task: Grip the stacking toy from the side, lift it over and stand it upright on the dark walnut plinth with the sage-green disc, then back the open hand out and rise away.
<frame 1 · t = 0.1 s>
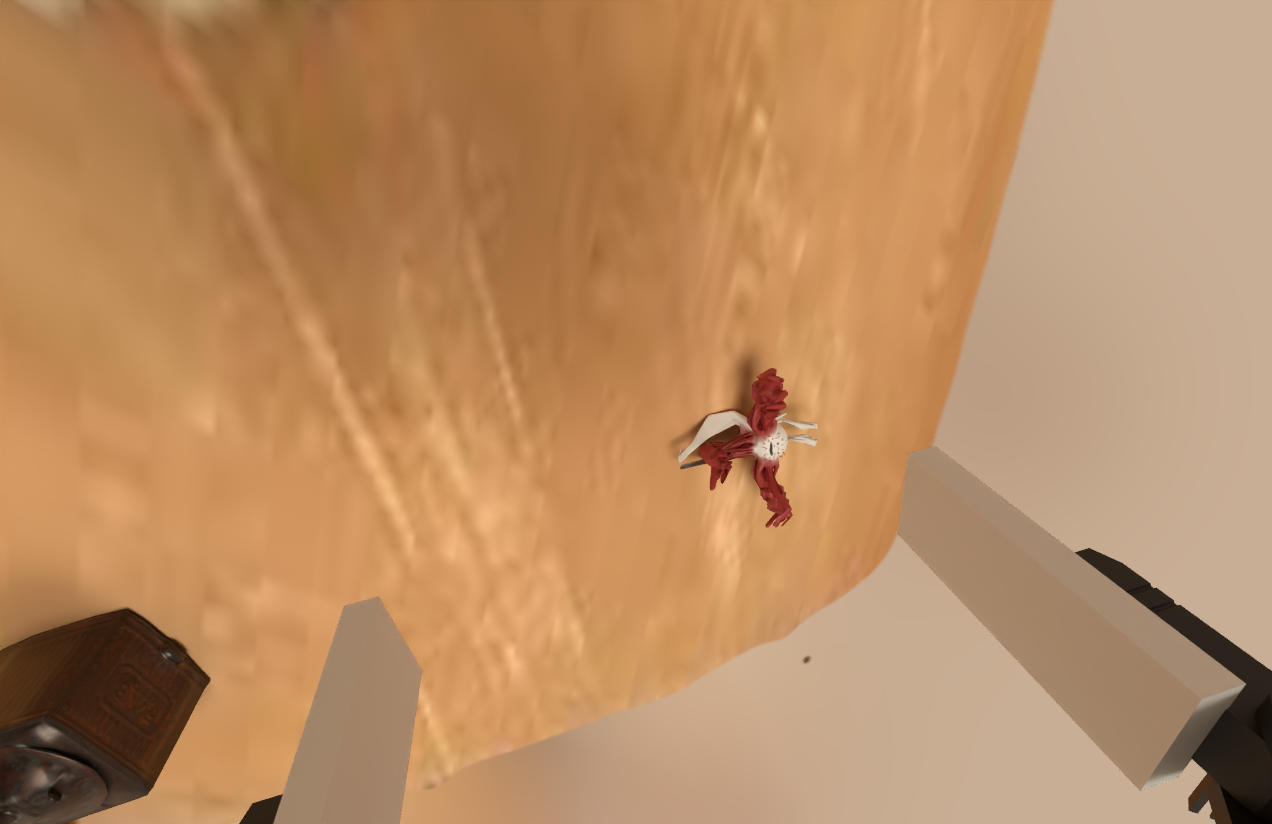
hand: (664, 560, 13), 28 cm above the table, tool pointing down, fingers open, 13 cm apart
pepper mill: (94, 644, 43), on the table
figurine: (733, 426, 47), on the table
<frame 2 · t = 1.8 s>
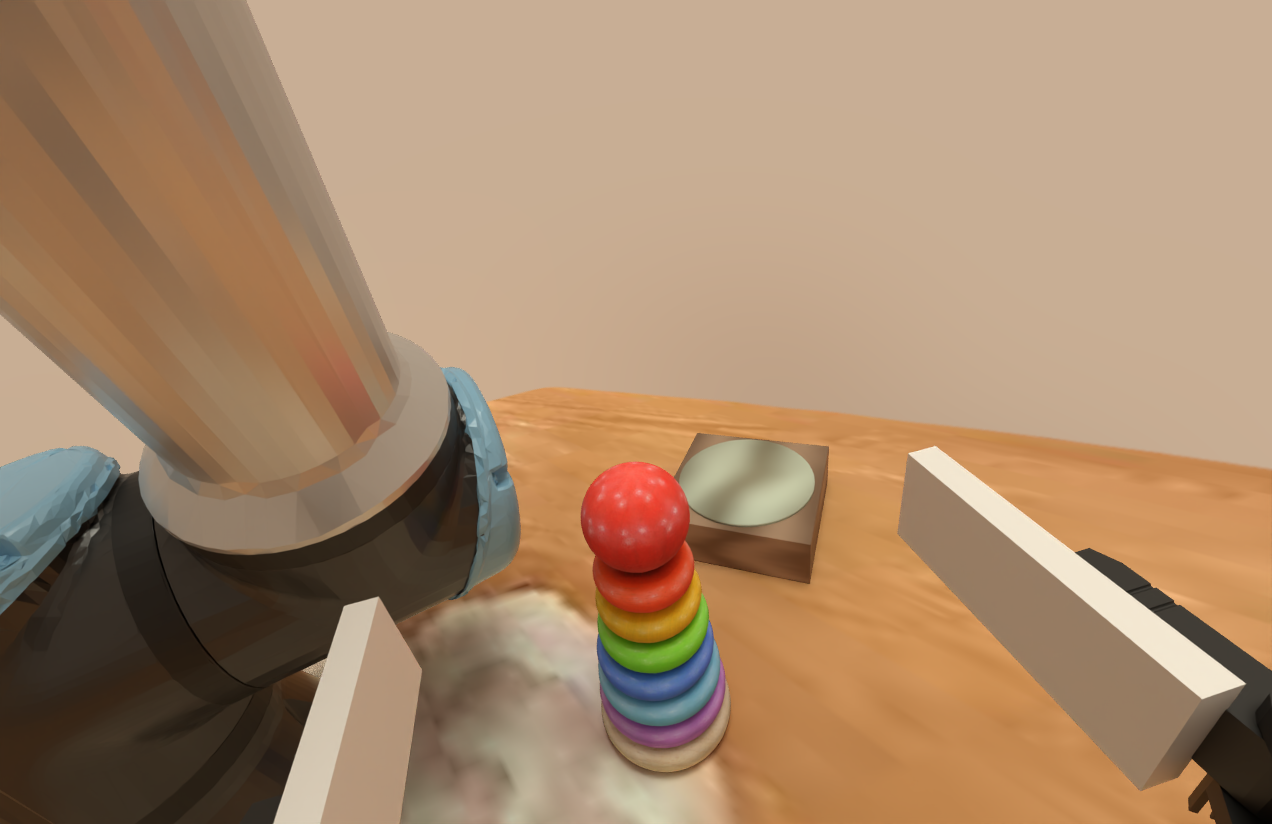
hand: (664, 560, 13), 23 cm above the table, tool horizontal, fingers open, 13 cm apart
walnut plinth: (747, 516, 47), on the table
stacking toy: (667, 710, 34), on the table
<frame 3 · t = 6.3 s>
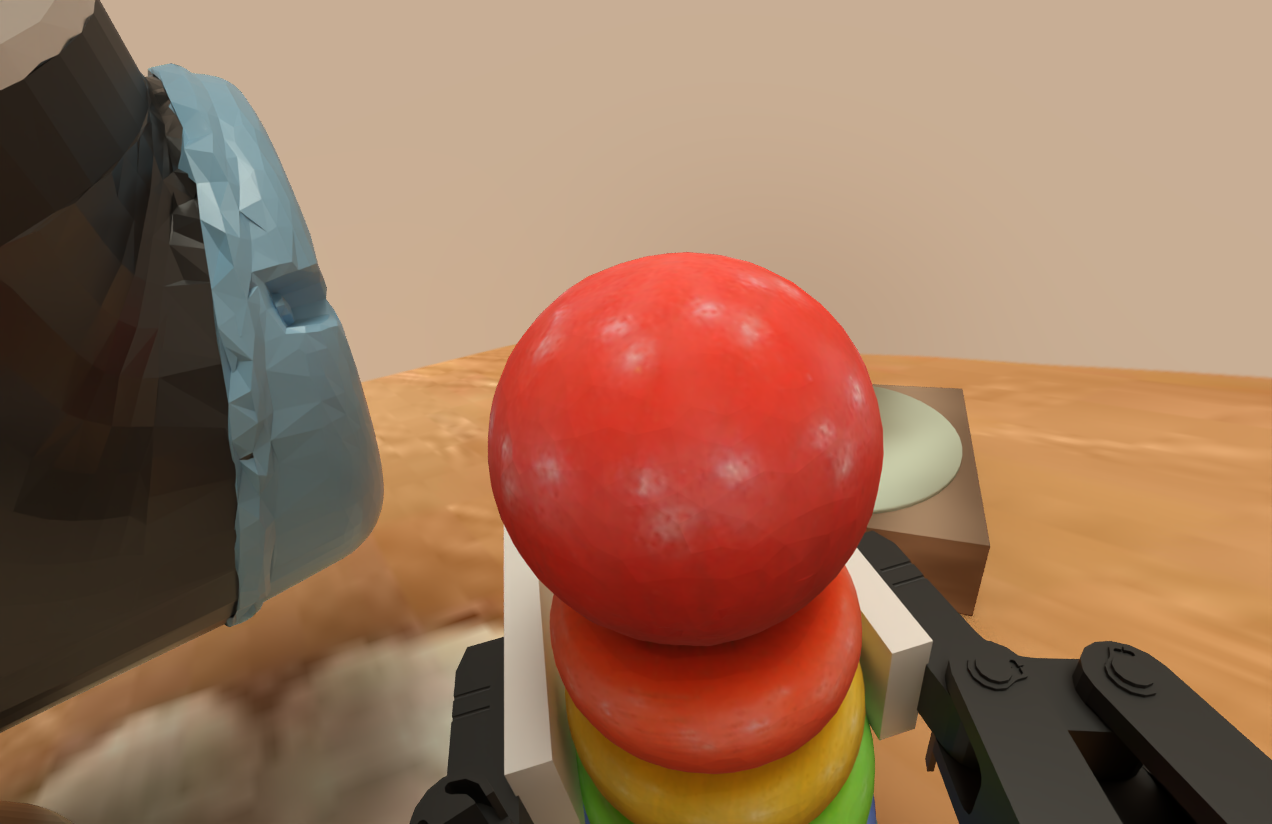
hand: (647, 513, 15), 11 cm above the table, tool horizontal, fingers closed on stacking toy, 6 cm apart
walnut plinth: (832, 500, 29), on the table
when the fingers open (16 cm above the table, at t = 11.1 s): stacking toy drops 1 cm, resting on walnut plinth.
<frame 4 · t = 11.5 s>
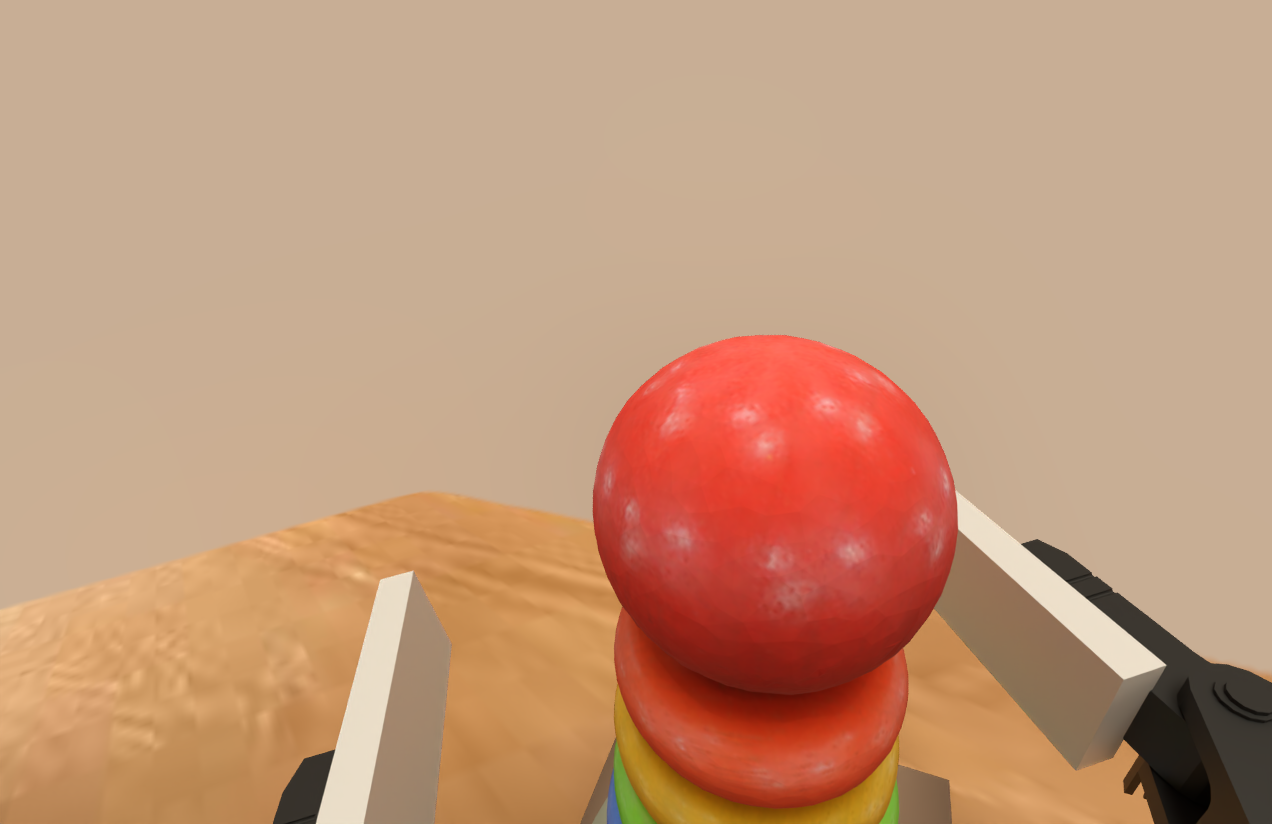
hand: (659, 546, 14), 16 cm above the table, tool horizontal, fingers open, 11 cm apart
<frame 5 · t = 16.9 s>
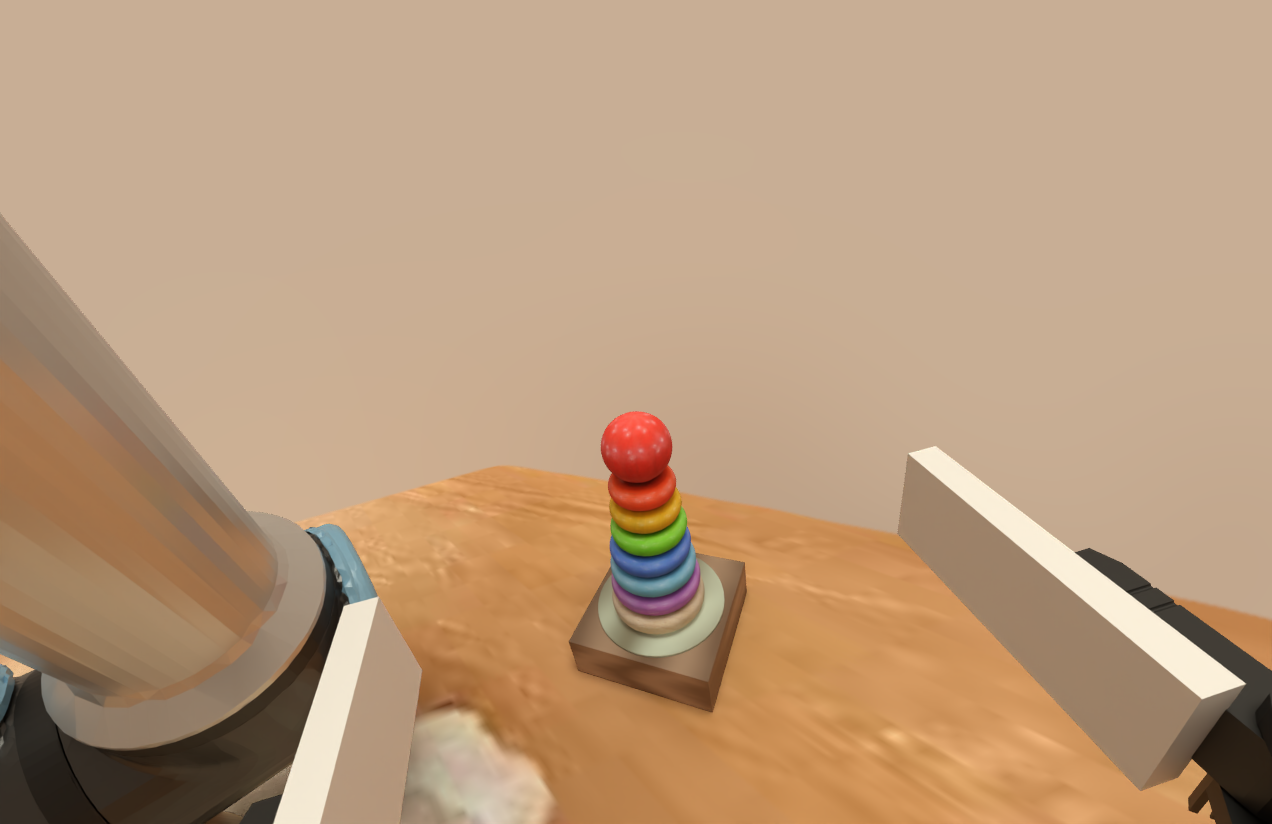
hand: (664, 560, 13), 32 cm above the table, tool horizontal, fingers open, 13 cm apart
walnut plinth: (666, 629, 49), on the table
stacking toy: (659, 600, 46), point 4 cm above the table, touching walnut plinth
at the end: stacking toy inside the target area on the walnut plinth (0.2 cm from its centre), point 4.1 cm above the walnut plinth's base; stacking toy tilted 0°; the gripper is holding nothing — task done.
